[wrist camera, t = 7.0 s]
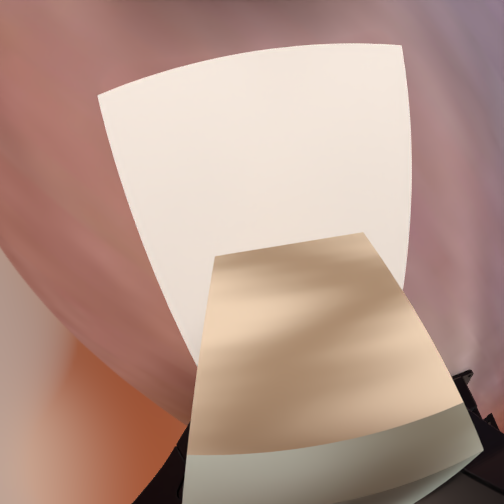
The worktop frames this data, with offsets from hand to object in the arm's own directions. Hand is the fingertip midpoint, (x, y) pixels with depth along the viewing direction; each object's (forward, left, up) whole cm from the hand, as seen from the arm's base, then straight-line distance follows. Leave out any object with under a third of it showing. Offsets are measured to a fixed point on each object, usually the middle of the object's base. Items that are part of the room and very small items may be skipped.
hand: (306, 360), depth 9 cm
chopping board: (0, 0, -7) cm, 7 cm away
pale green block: (0, 0, -2) cm, 2 cm away
